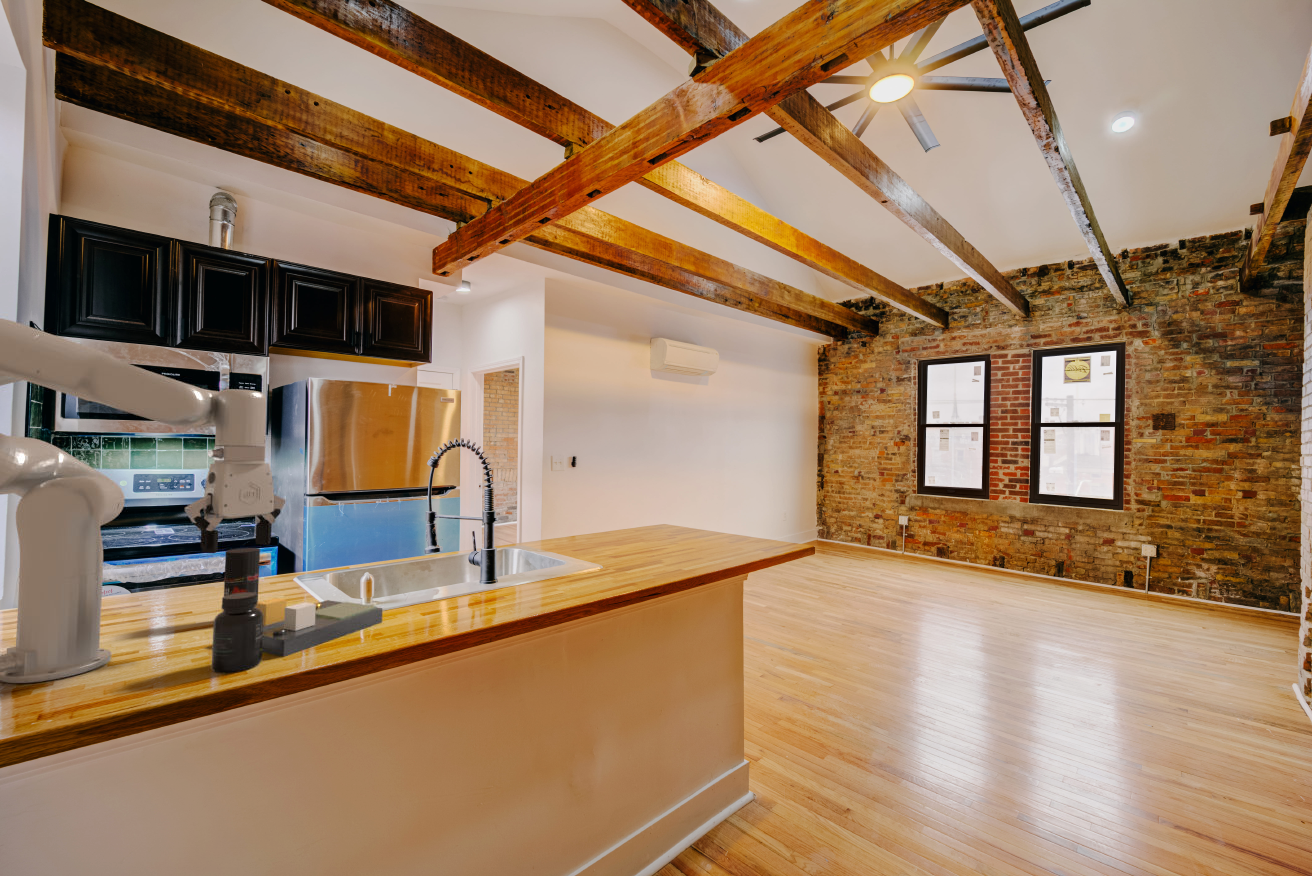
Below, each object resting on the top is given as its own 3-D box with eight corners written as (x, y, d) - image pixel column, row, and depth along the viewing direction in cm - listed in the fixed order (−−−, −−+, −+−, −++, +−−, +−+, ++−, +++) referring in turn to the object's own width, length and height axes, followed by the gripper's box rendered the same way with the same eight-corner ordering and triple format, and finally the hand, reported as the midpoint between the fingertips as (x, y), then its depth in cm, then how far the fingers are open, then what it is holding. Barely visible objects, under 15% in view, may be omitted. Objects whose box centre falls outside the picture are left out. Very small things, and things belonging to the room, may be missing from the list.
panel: (283, 656, 100) (284, 636, 100) (223, 644, 105) (223, 625, 105) (382, 622, 120) (382, 605, 120) (327, 613, 126) (327, 597, 126)
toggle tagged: (265, 625, 107) (266, 604, 107) (254, 623, 108) (255, 602, 108) (285, 619, 111) (286, 599, 111) (274, 617, 112) (275, 597, 112)
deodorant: (263, 617, 122) (266, 548, 122) (241, 625, 116) (244, 553, 116) (239, 615, 123) (242, 547, 123) (215, 624, 117) (218, 552, 117)
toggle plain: (295, 630, 104) (296, 609, 104) (283, 628, 105) (284, 607, 105) (314, 624, 108) (315, 604, 108) (303, 622, 109) (304, 602, 109)
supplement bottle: (245, 656, 99) (248, 588, 100) (270, 662, 97) (273, 593, 97) (202, 669, 93) (205, 597, 93) (227, 677, 90) (231, 602, 91)
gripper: (203, 456, 94) (199, 558, 94) (298, 456, 111) (295, 542, 110) (173, 455, 97) (170, 554, 96) (271, 455, 113) (268, 540, 113)
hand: (237, 548), depth 103 cm, fingers open, 9 cm apart
